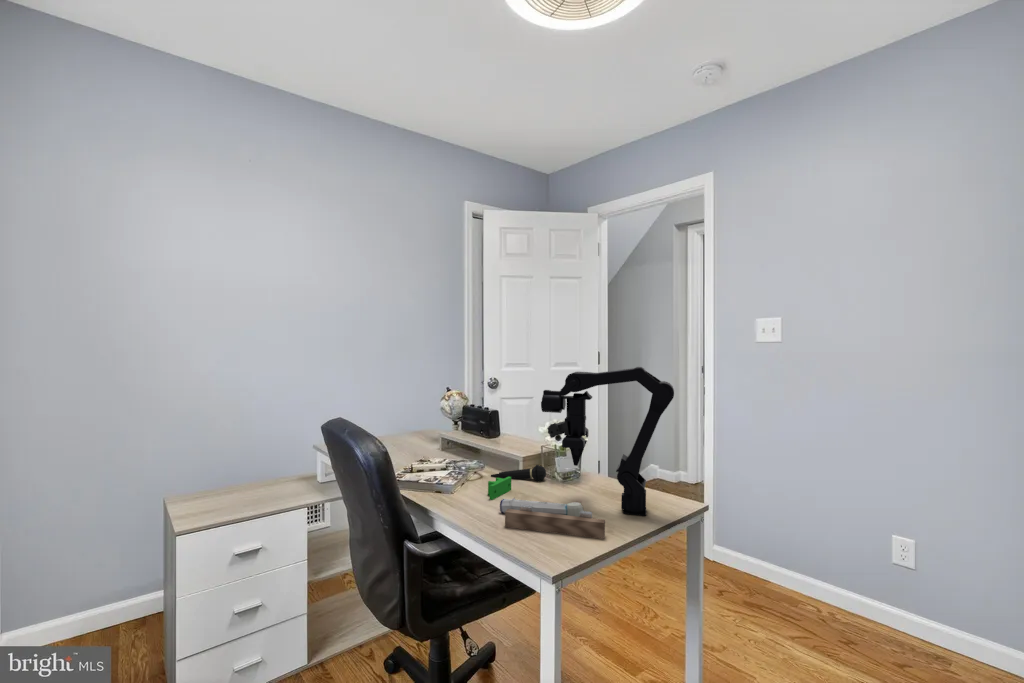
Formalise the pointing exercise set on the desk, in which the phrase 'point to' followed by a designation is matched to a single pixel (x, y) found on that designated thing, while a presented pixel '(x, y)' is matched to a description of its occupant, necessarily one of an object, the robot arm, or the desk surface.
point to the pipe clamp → (499, 487)
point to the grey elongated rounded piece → (543, 507)
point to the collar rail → (555, 522)
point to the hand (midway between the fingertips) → (575, 465)
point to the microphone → (524, 473)
